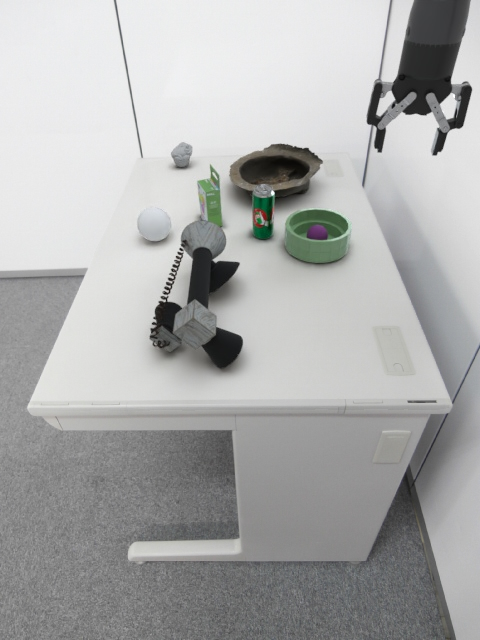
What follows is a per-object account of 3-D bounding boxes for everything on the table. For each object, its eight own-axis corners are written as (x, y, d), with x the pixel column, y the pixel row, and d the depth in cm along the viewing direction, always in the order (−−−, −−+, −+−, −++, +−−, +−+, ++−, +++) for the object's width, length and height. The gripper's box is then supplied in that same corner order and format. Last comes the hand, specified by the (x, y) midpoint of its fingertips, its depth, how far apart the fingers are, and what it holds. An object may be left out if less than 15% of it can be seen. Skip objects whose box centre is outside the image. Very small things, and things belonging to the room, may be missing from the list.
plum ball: (327, 239, 103) (329, 221, 100) (326, 251, 100) (328, 232, 96) (306, 238, 104) (308, 220, 101) (304, 249, 101) (306, 231, 97)
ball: (179, 241, 105) (174, 211, 100) (148, 251, 102) (142, 221, 97) (165, 226, 110) (160, 197, 105) (135, 236, 107) (128, 206, 102)
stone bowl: (332, 180, 126) (335, 149, 119) (293, 226, 112) (295, 194, 105) (257, 162, 136) (256, 132, 129) (212, 202, 121) (209, 171, 115)
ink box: (199, 216, 114) (195, 166, 105) (214, 213, 115) (211, 163, 105) (207, 229, 109) (203, 178, 100) (222, 226, 110) (220, 175, 101)
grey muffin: (197, 167, 136) (195, 144, 131) (176, 172, 133) (174, 149, 129) (189, 160, 140) (186, 137, 135) (168, 165, 137) (165, 142, 133)
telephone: (196, 290, 100) (185, 393, 78) (153, 255, 94) (127, 357, 71) (245, 251, 93) (249, 351, 71) (203, 211, 87) (192, 307, 65)
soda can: (267, 227, 109) (268, 181, 101) (277, 237, 106) (279, 190, 97) (248, 232, 107) (248, 186, 99) (258, 242, 104) (259, 195, 96)
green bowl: (348, 232, 106) (352, 210, 102) (346, 268, 96) (351, 244, 92) (288, 227, 109) (289, 205, 105) (280, 261, 98) (281, 238, 94)
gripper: (483, 31, 62) (448, 146, 73) (379, 30, 65) (361, 141, 76) (494, 42, 57) (455, 164, 68) (381, 41, 59) (361, 159, 70)
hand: (406, 152), depth 72 cm, fingers open, 8 cm apart
